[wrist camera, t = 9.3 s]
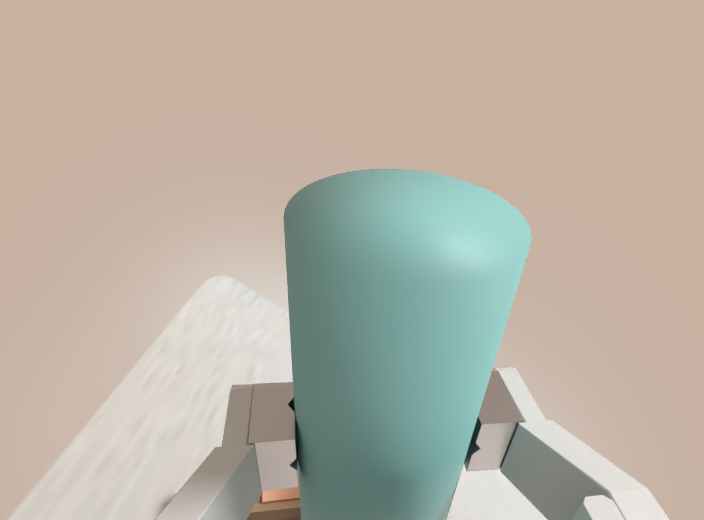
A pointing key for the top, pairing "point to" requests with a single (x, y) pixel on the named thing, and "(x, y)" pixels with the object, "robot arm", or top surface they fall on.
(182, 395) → the top surface
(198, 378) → the top surface
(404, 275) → the teal peg
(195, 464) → the top surface
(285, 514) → the hole plate
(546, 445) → the robot arm
